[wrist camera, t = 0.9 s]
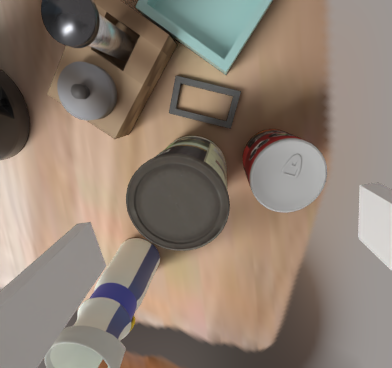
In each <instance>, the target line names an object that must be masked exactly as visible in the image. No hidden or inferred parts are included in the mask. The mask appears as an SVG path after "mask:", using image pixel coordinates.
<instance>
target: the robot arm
mask: <svg viewBox="0 0 392 368" xmlns="http://www.w3.org/2000/svg"><path fill="white" fill-rule="evenodd" d="M29 127H30V122H29V114H28V109H27V106H26V103H25V101H24V98H23V96H22V94H21V93H20V91H19V89H18V88H17V86H16V85H15V84H14V82H13V81H12V80H11V79H10V78H9V77H8V76H7V75H6V74H5V73H4V72H3V71H1V70H0V160H4V159H8V158H10V157H12V156H14V155H16V154H17V153H18V152H19V151H20V150H21V149H22V148H23V146H24V145H25V143H26V141H27V138H28V134H29ZM358 238H359V239H360V240H361V241H362V242H363V243H364V244H365V245H366V246H367V247H368V248H369V249H370V250H371V251H372V252H373V253H374V254H375V255H376V256H377V257H378V258H379V259H380V260H381V261H382V262H383V263H384V264H385V265H386V266H388V268H390V269H391V270H392V189H390V188H388V187H386V186H384V185H382V184H380V183H371V184H364V185H360V194H359V231H358ZM105 267H106V264H105V261H104V258H103V256H102V253H101V250H100V247H99V245H98V242H97V239H96V236H95V234H94V231H93V228H92V225H91V222H87V223H80V224H76V225H75V226H74V227H73V228H72V229H71V230H70V231H68V232H67V233H66V234H65V235H64V236H63V237H61V238H60V239H59V240H58V241H57V242H56V243H55V244H53V245H52V246H51V247H50V248H49V249H48V250H47V251H45V252H44V253H43V254H42V255H41V256H40V257H39V258H37V259H36V260H35V261H34V262H33V263H32V264H31V265H29V266H28V267H27V268H26V269H25V270H24V271H22V272H21V273H20V274H19V275H18V276H17V277H16V278H14V279H13V280H12V281H11V282H10V283H9V284H8V285H6V286H5V287H4V288H3V289H2V290H1V291H0V368H37V367H38V366H39V364H40V363H41V361H42V360H43V358H44V357H45V355H46V354H47V352H48V351H49V350H50V348H51V347H52V345H53V344H54V342H55V341H56V339H57V338H58V336H59V335H60V333H61V332H62V330H63V329H64V327H65V326H66V324H67V323H68V321H69V320H70V318H71V317H72V316H73V314H74V313H75V311H76V310H77V308H78V307H79V305H80V304H81V302H82V301H83V299H84V298H85V296H86V295H87V293H88V292H89V290H90V289H91V287H92V286H93V285H94V283H95V282H96V280H97V279H98V277H99V276H100V274H101V273H102V271H103V270H104V268H105Z"/></svg>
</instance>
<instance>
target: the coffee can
mask: <svg viewBox="0 0 392 368" xmlns="http://www.w3.org/2000/svg"><path fill="white" fill-rule="evenodd" d="M226 173H227V165H226V160H225V158H224V155H223V153H222V152H221V150H220V149H219V148H218V147H217V145H215V144H214V143H213V142H212V141H210V140H208V139H206V138H203V137H200V136H185V137H182V138H179V139H177V140H175V141H174V142H173V143H171V144H170V145H169V146H168V147H167V148H166V149H165V150H163V151H162V152H161V153H159V154H158V155H157V156H156V157H154V158H153V159H150V160H149V161H147V162H146V163H144V164H143V165H142V166H141V167H140V168H139V169H138V170H137V171H136V172H135V173H134V175H133V176H132V178H131V180H130V182H129V185H128V188H127V194H126V204H127V211H128V214H129V216H130V219H131V221H132V223H133V224H134V226H135V227H136V229H137V230H138V231H139V232H140V233H141V234H142V235H143V236H144V237H145V238H146V239H148V240H149V241H150V242H152V243H154V244H156V245H158V246H160V247H163V248H166V249H170V250H177V251H186V250H193V249H197V248H200V247H202V246H204V245H206V244H208V243H210V242H211V241H212V240H214V239H215V238H216V237H217V236H218V235H219V234H220V233H221V231H222V230H223V228H224V226H225V224H226V222H227V219H228V216H229V206H230V204H229V196H228V192H227V175H226Z"/></svg>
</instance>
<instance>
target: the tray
mask: <svg viewBox="0 0 392 368" xmlns="http://www.w3.org/2000/svg"><path fill="white" fill-rule="evenodd" d="M272 2H273V0H138V3H137V5H136V8H137V10H138V11H139V12H140V13H141V14H142V15H143V16H144V17H145V18H147V19H148V20H150V21H151V22H152V23H154V24H155V25H157V26H158V27H159V28H161V29H162V30H164V31H165V32H166V33H168V34H169V35H171V36H172V37H173V38H175V39H176V40H177V41H179V42H180V43H182V44H183V45H184V46H186V47H187V48H189V49H190V50H191V51H193V52H194V53H196V54H197V55H198V56H200V57H201V58H203V59H204V60H205V61H207V62H208V63H210V64H211V65H212V66H214V67H215V68H217V69H218V70H219V71H221V72H222V73H224V74H225V75H226V74H227V73H228V71H229V70H230V68H231V66H232V65H233V63H234V62H235V60H236V59H237V57H238V55H239V54H240V52H241V51H242V49H243V47H244V46H245V44H246V43H247V41H248V40H249V38H250V36H251V35H252V33H253V32H254V30H255V29H256V27H257V25H258V24H259V22H260V21H261V19H262V17H263V16H264V14H265V13H266V11H267V10H268V8H269V6H270V5H271V3H272Z"/></svg>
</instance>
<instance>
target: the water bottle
mask: <svg viewBox="0 0 392 368" xmlns="http://www.w3.org/2000/svg"><path fill="white" fill-rule="evenodd" d="M159 263H160V255H159V252H158V250H157V249H156V247H155V246H154V245H153V244H152V243H150V242H149V241H147V240H144V239H141V238H132V239H128V240H126V241H125V242H123V243H122V244H121V246H120V247H119V249H118V251H117V253H116V254H115V256H114V257H113V259H112V261H111V262H110V264H109V265H108V267H107V268H106V269H105V271H104V272H103V274H102V275H101V277H100V278H99V280H98V282H97V284H96V287H95V291H94V293H93V294H92V296H91V297H90V299H88V300H86V301H85V302H83V303H82V304H81V306H80V307H79V310H78V319H77V321H76V323H75V324H74V325H73V326H71V327H67V328H64V329H63V330H62V332H61V333H60V335H59V336H58V338H57V339H56V341H55V342H54V344H53V345H52V347H51V348H50V350H49V351H48V352H47V354H46V355H45V365H46V367H47V368H98V366H99V365H100V363H101V361H102V360H103V359H104V361H105V362H106V363H107V365H108V368H120V365H121V362H122V359H123V356H124V353H125V350H126V348H125V346H124V345H123V344H122V343H121V342H120V340H121V339H123V338H124V337H125V336H127V334H128V333H129V332H130V331H131V329H132V328H133V326H134V324H135V317H134V316H133V315H134V313H135V311H136V310H137V309H138V307H139V306H140V304H141V303H142V301H143V298H144V296H145V294H146V292H147V289H148V287H149V285H150V282H151V280H152V278H153V276H154V274H155V272H156V270H157V268H158V266H159Z"/></svg>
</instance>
